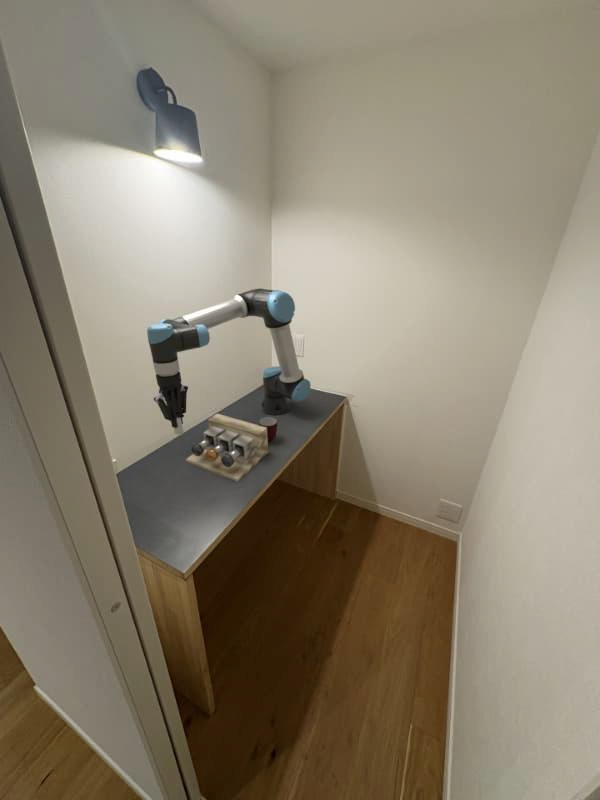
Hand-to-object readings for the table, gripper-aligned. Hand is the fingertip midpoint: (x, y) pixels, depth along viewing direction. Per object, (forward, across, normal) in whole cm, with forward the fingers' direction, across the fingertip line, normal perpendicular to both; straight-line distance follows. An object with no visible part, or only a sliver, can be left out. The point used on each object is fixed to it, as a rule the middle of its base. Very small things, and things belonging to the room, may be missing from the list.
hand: (179, 433), depth 113 cm
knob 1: (+14, -10, 0) cm, 17 cm away
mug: (+18, -33, +16) cm, 41 cm away
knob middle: (+14, -10, +7) cm, 19 cm away
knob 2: (+14, -10, +15) cm, 23 cm away
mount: (+18, -16, +8) cm, 25 cm away
